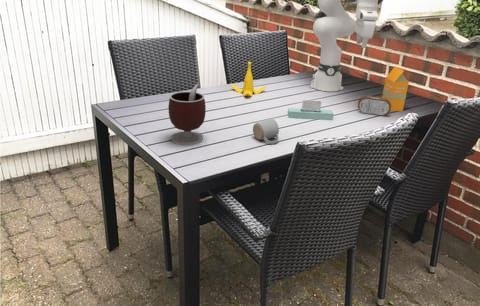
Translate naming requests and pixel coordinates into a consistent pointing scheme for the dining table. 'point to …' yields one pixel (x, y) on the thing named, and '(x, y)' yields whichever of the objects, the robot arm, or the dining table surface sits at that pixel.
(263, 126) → the ceramic mug
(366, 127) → the dining table surface
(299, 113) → the rail
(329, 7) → the robot arm
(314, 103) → the white block
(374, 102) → the tin
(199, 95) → the mate gourd
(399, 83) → the orange juice
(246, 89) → the banana peel
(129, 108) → the dining table surface
